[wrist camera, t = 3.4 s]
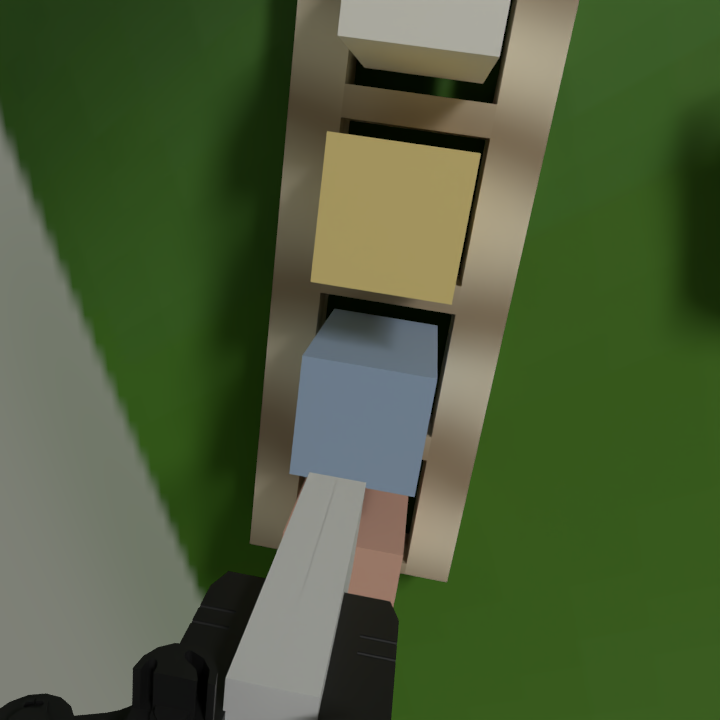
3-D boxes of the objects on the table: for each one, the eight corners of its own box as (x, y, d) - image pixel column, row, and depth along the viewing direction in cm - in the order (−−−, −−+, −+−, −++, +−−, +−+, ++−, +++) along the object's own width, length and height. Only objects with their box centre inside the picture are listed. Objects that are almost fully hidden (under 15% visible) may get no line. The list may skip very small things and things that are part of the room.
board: (321, -97, 23) (308, -126, 21) (583, -67, 22) (600, -93, 20) (263, 515, 33) (249, 543, 30) (446, 550, 32) (446, 582, 29)
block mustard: (355, 137, 24) (327, 131, 17) (469, 153, 23) (480, 153, 17) (341, 251, 25) (310, 281, 19) (448, 268, 25) (451, 304, 19)
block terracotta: (316, 451, 28) (282, 532, 22) (410, 468, 28) (403, 555, 22) (306, 531, 30) (272, 627, 24) (396, 548, 29) (384, 650, 23)
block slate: (334, 308, 26) (302, 355, 20) (437, 325, 26) (437, 378, 19) (322, 403, 27) (289, 473, 21) (419, 420, 27) (414, 497, 21)
